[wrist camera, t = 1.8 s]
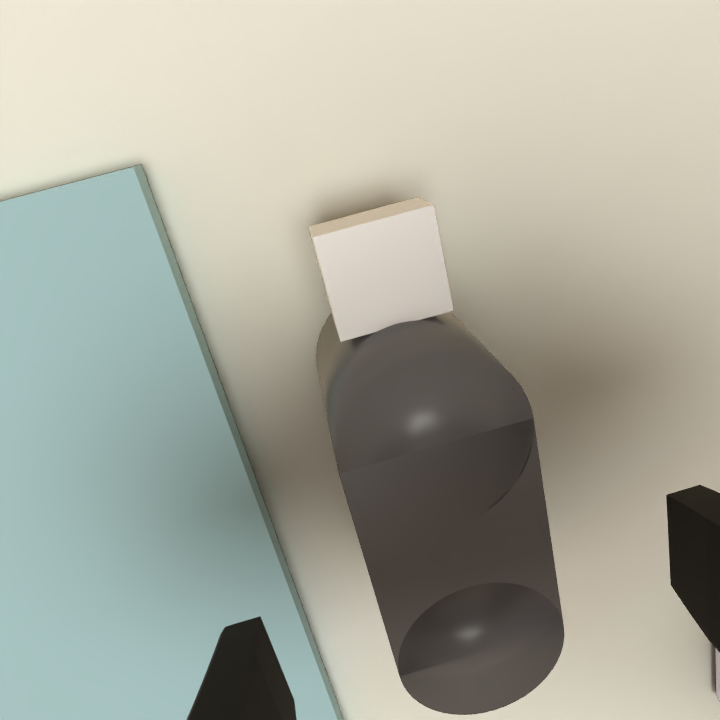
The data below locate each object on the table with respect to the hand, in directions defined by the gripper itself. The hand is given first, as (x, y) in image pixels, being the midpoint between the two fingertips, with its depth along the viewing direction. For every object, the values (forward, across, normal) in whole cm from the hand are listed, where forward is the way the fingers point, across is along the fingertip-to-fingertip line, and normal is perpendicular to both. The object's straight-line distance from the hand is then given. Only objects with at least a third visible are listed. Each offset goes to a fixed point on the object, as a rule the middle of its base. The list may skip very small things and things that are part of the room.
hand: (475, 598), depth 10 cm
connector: (+6, 0, 0) cm, 6 cm away
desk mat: (+6, +8, +2) cm, 10 cm away
